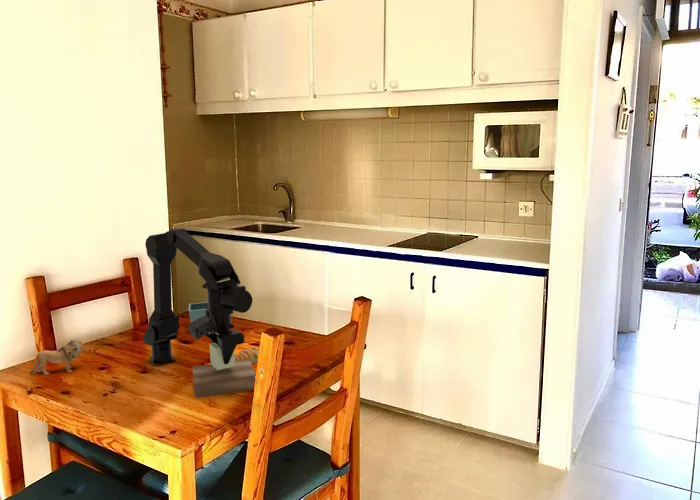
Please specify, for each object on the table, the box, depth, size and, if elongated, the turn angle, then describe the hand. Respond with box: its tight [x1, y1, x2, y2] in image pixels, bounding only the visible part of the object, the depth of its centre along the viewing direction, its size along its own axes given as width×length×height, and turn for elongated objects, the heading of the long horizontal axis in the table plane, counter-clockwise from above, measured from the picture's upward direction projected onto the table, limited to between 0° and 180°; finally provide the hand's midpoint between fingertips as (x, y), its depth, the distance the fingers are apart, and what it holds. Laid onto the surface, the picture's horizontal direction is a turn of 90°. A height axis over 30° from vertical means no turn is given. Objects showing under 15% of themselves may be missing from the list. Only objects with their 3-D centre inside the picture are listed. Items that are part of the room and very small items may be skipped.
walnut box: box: [191, 359, 257, 399], centre depth 161 cm, size 12×16×4 cm
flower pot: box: [188, 301, 209, 323], centre depth 206 cm, size 9×9×9 cm
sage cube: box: [209, 342, 235, 370], centre depth 160 cm, size 5×5×6 cm
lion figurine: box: [28, 338, 84, 376], centre depth 172 cm, size 15×5×9 cm, turn 113°
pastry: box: [234, 346, 260, 364], centre depth 177 cm, size 9×7×4 cm
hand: (222, 360), depth 160 cm, fingers closed on sage cube, 5 cm apart
